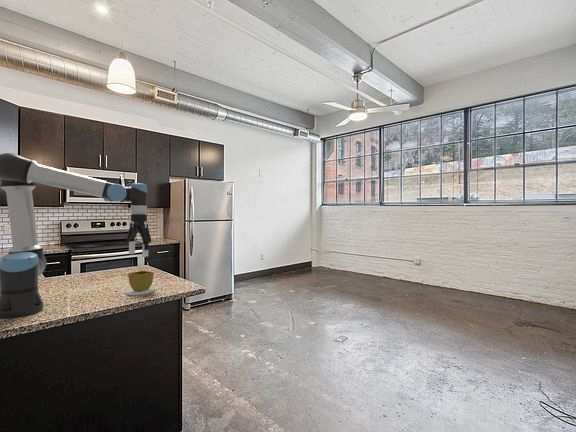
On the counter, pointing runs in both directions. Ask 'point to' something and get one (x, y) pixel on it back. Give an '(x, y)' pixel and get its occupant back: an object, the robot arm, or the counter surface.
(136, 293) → the white flat disc
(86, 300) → the counter surface
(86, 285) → the counter surface
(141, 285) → the flower pot
